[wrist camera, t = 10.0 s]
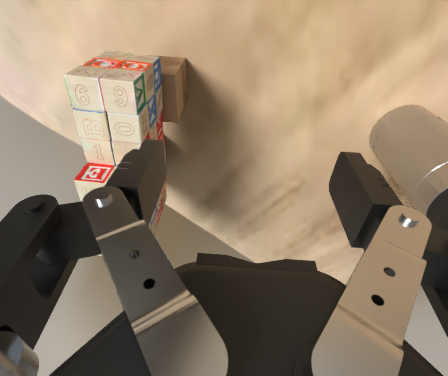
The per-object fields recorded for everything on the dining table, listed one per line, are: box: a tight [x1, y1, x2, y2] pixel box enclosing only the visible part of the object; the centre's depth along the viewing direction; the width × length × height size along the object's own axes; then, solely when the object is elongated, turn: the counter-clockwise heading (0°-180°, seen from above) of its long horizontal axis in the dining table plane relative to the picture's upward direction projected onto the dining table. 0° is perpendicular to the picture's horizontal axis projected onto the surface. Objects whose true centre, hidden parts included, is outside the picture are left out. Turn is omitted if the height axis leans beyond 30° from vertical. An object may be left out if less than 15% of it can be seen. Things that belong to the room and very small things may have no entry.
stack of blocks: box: [64, 51, 166, 256], centre depth 32 cm, size 21×6×12 cm, turn 174°
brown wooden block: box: [147, 55, 187, 123], centre depth 37 cm, size 6×6×8 cm
